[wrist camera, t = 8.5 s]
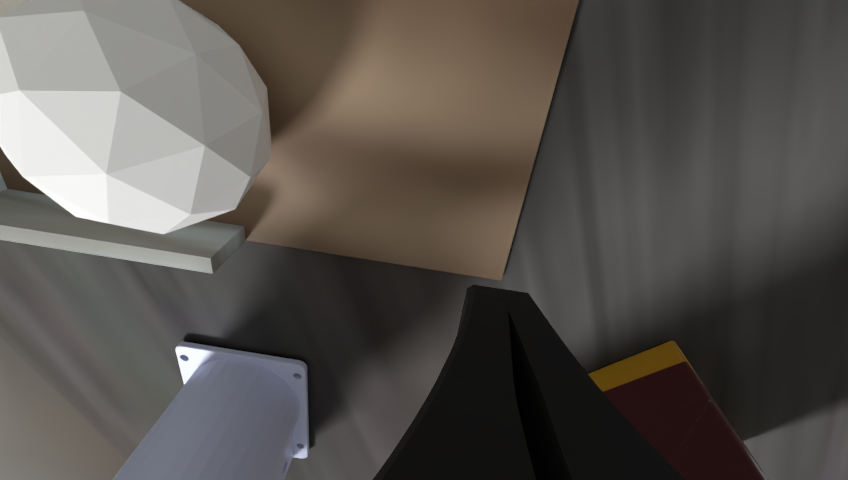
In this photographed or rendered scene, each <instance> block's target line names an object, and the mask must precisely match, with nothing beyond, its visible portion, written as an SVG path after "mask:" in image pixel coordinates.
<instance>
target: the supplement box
mask: <svg viewBox="0 0 848 480" xmlns="http://www.w3.org/2000/svg"><path fill="white" fill-rule="evenodd" d="M588 375H589V376H590V377H591V379H592V380H593V381H594V382H595V383H596V385H597V386H598V387H599V388H600V389H601V390H602V392H603V393H604V394H605V395H606V396H607V397H608V399H609V400H610V401H611V402H612V403H613V404H614V406H615V407H616V408H617V409H618V410H619V411H620V412H621V414H622V415H623V416H624V417H625V418H626V419H627V420H628V421H629V422H630V423H631V425H632V426H633V427H634V428H635V429H636V430H637V431H638V432H639V433H640V434H641V435H642V436H643V437H644V438H645V439H646V440H647V441H648V442H649V443H650V444H651V445H652V446H653V447H654V448H655V449H656V450H657V451H658V452H659V453H660V455H661V456H662V457H663V458H664V459H665V460H666V461H667V462H668V463H669V464H670V465H671V466H672V467H673V468H674V469H675V470H676V471H677V472H679V473H680V474H681V475H682V476H683V477H684V478H685V479H686V480H768V478H767V477H766V475H765V474H764V473H763V471H762V469H761V468H760V466H759V465H758V463H757V462H756V460H755V459H754V458H753V456H752V455H751V453H750V452H749V450H748V448H747V447H746V445H745V444H744V442H743V441H742V440H741V438H740V437H739V435H738V434H737V432H736V431H735V429H734V428H733V426H732V425H731V424H730V422H729V421H728V419H727V418H726V416H725V415H724V413H723V412H722V410H721V409H720V407H719V406H718V404H717V403H716V402H715V400H714V399H713V397H712V396H711V394H710V393H709V391H708V390H707V388H706V387H705V385H704V384H703V382H702V381H701V379H700V378H699V376H698V375H697V373H696V372H695V370H694V369H693V367H692V366H691V365H690V363H689V362H688V360H687V359H686V357H685V356H684V354H683V353H682V351H681V350H680V348H679V347H678V345H677V344H676V342H675V341H669V342H666V343H664V344H661V345H659V346H656V347H654V348H651V349H649V350H646V351H644V352H641V353H639V354H636V355H634V356H631V357H629V358H626V359H624V360H621V361H619V362H616V363H614V364H611V365H609V366H606V367H604V368H601V369H599V370H596V371H594V372H591V373H589V374H588Z"/></svg>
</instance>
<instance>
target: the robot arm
mask: <svg viewBox="0 0 848 480" xmlns="http://www.w3.org/2000/svg"><path fill="white" fill-rule="evenodd" d="M176 354H177V358H178V362H179V366H180V370H181V374H182V378H183V382H184V386H183V387H182V389H181V390H180V391H179V393H178V394H177V395H176V397H175V398H174V399H173V401H172V402H171V403H170V405H169V406H168V407H167V408H166V410H165V411H164V412H163V414H162V415H161V416H160V418H159V419H158V420H157V422H156V423H155V424H154V426H153V427H152V428H151V430H150V431H149V432H148V433H147V435H146V436H145V437H144V439H143V440H142V441H141V443H140V444H139V445H138V447H137V448H136V449H135V451H134V452H133V453H132V454H131V456H130V457H129V458H128V460H127V461H126V462H125V464H124V465H123V466H122V468H121V469H120V470H119V472H118V473H117V474H116V476H115V477H114V478H113V479H112V480H284V478H285V476H286V473H287V470H288V468H289V465H290V463H291V460H292V458H293V457H296V458H306V457H307V456H308V453H309V420H308V377H307V365H306V364H305V363H304V362H303V361H300V360H294V359H288V358H282V357H276V356H270V355H264V354H257V353H251V352H245V351H239V350H233V349H227V348H220V347H214V346H208V345H202V344H196V343H190V342H181V343H179V344H178V345H177V347H176ZM373 480H686V479H685V478H684V477H683V476H682V475H681V474H680V473H679V472H677V471H676V470H675V469H674V468H673V467H672V466H671V465H670V464H669V463H668V462H667V461H666V460H665V459H664V458H663V457H662V456H661V455H660V453H659V452H658V451H657V450H656V449H655V448H654V447H653V446H652V445H651V444H650V443H649V442H648V441H647V440H646V439H645V438H644V437H643V436H642V435H641V434H640V433H639V432H638V431H637V430H636V429H635V428H634V427H633V426H632V425H631V423H630V422H629V421H628V420H627V419H626V418H625V417H624V416H623V415H622V414H621V412H620V411H619V410H618V409H617V408H616V407H615V406H614V404H613V403H612V402H611V401H610V400H609V399H608V397H607V396H606V395H605V394H604V393H603V392H602V390H601V389H600V388H599V387H598V386H597V385H596V383H595V382H594V381H593V380H592V379H591V377H590V376H589V375H588V374H587V372H586V371H585V370H584V369H583V367H582V366H581V365H580V364H579V362H578V361H577V360H576V358H575V357H574V356H573V355H572V353H571V352H570V351H569V349H568V348H567V347H566V345H565V344H564V343H563V341H562V340H561V339H560V337H559V336H558V334H557V333H556V332H555V330H554V329H553V328H552V326H551V325H550V323H549V322H548V321H547V319H546V318H545V316H544V315H543V313H542V312H541V311H540V309H539V308H538V306H537V305H536V304H535V302H534V301H533V299H532V298H531V297H530V295H529V294H528V293H524V292H517V291H511V290H504V289H497V288H491V287H484V286H477V285H472V286H471V287H469V288H467V292H466V297H465V301H464V306H463V311H462V315H461V320H460V325H459V329H458V334H457V337H456V340H455V343H454V345H453V348H452V350H451V352H450V354H449V356H448V358H447V360H446V362H445V364H444V366H443V368H442V371H441V373H440V375H439V377H438V379H437V381H436V382H435V384H434V386H433V388H432V390H431V392H430V393H429V395H428V397H427V399H426V400H425V402H424V404H423V405H422V407H421V409H420V410H419V412H418V414H417V415H416V417H415V419H414V420H413V422H412V423H411V425H410V426H409V428H408V430H407V431H406V433H405V434H404V436H403V437H402V439H401V440H400V442H399V443H398V445H397V446H396V448H395V449H394V451H393V452H392V454H391V455H390V456H389V458H388V459H387V461H386V462H385V464H384V465H383V466H382V468H381V469H380V471H379V472H378V473H377V475H376V476H375V477H374V479H373Z"/></svg>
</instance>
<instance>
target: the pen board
mask: <svg viewBox="0 0 848 480" xmlns="http://www.w3.org/2000/svg"><path fill="white" fill-rule="evenodd" d="M27 1H29V0H0V15H2V14H4V13H6V12H8V11H10V10H12V9H14V8H16V7H18V6H19V5H21V4H23V3H25V2H27ZM179 1H181V2H182V3H184V4H185V5H187V6H189V7H190V8H192V9H193V10H195V11H197V12H198V13H200V14H201V15H203V16H204V17H206V18H208V19H209V20H211V21H212V22H214V23H216V24H217V25H219V26H220V27H221V28H222V29H223V30H224V31H225V32H226V33H227V34H228V35H229V36H230V37H231V38H232V39H233V40H234V41H236V42H237V43H238V44H239V45H240V47H241V49H242V50H243V52H244V53H245V55H246V56H247V58H248V59H249V61H250V62H251V64H252V65H253V67H254V69H255V70H256V72H257V73H258V75H259V76H260V78H261V79H262V81H263V82H264V84H265V86H266V87H267V95H268V108H269V120H270V133H271V146H272V156H271V158H270V159H269V161H268V162H267V163H266V165H265V166H264V168H263V169H262V171H261V172H260V174H259V175H258V177H257V178H256V180H255V181H254V183H253V184H252V185H251V187H250V188H249V190H248V191H247V193H246V194H245V196H244V197H243V199H242V200H241V202H240V203H239V204H238V206H237V207H236V209H235V210H232V211H229V212H226V213H223V214H220V215H218V216H215V217H212V218H209V219H206V220H203V221H200V222H198V223H195V224H192V225H189V226H186V227H183V228H181V229H178V230H175V231H172V232H169V233H166V234H159V233H154V232H149V231H144V230H138V229H133V228H128V227H123V226H118V225H113V224H108V223H103V222H98V221H93V220H89V219H84V218H79V217H75V216H74V215H72V214H71V213H70V212H69V211H67V210H66V209H65V208H63V207H62V206H61V205H59V204H58V203H57V202H55V201H54V200H53V199H51V198H50V197H49V196H47V195H46V194H45V193H43V192H42V191H41V190H39V189H38V188H37V187H35V186H34V185H33V184H31V183H30V182H29V181H27V180H26V179H25V178H24V177H22V175H21V174H20V173H19V172H18V170H17V169H16V168H15V167H14V165H13V164H12V163H11V161H10V160H9V159H8V158H7V156H6V155H5V154H4V152H3V150H2V149H1V147H0V240H6V241H12V242H18V243H24V244H31V245H37V246H43V247H50V248H56V249H62V250H68V251H75V252H81V253H87V254H93V255H100V256H106V257H112V258H118V259H125V260H131V261H137V262H143V263H150V264H156V265H162V266H169V267H175V268H181V269H187V270H194V271H200V272H206V273H212V274H213V273H214V272H215V271H216V270H217V269H218V268H219V267H220V266H221V265H222V264H223V263H224V262H225V261H226V260H227V259H228V258H229V257H230V256H231V255H232V254H233V253H234V252H235V250H236V249H237V248H238V247H239V246H240V245H241V244H242V243H243V242H244V241H245V240H247V241H254V242H260V243H266V244H273V245H279V246H285V247H292V248H298V249H304V250H311V251H317V252H323V253H330V254H336V255H342V256H348V257H355V258H361V259H367V260H374V261H380V262H386V263H393V264H399V265H405V266H412V267H418V268H424V269H431V270H437V271H443V272H450V273H456V274H462V275H469V276H475V277H481V278H487V279H494V280H500V281H501V280H502V277H503V273H504V269H505V266H506V262H507V259H508V255H509V251H510V248H511V244H512V240H513V237H514V233H515V230H516V226H517V222H518V219H519V215H520V212H521V208H522V204H523V201H524V197H525V194H526V190H527V186H528V183H529V179H530V175H531V172H532V168H533V165H534V161H535V157H536V154H537V150H538V147H539V143H540V139H541V136H542V132H543V129H544V125H545V121H546V118H547V114H548V110H549V107H550V103H551V100H552V96H553V92H554V89H555V85H556V82H557V78H558V74H559V71H560V67H561V64H562V60H563V56H564V53H565V49H566V45H567V42H568V38H569V35H570V31H571V27H572V24H573V20H574V17H575V13H576V9H577V6H578V2H579V0H179Z"/></svg>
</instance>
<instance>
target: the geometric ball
mask: <svg viewBox="0 0 848 480" xmlns="http://www.w3.org/2000/svg"><path fill="white" fill-rule="evenodd" d="M0 147H1V149H2V150H3V152H4V154H5V155H6V156H7V158H8V159H9V160H10V161H11V163H12V164H13V165H14V167H15V168H16V169H17V170H18V172H19V173H20V174H21V175H22V177H24V178H25V179H26V180H27V181H29V182H30V183H31V184H33V185H34V186H35V187H37V188H38V189H39V190H41V191H42V192H43V193H45V194H46V195H47V196H49V197H50V198H51V199H53V200H54V201H55V202H57V203H58V204H59V205H61V206H62V207H63V208H65V209H66V210H67V211H69V212H70V213H71V214H72V215H74V216H75V217H79V218H84V219H89V220H93V221H98V222H103V223H108V224H113V225H118V226H123V227H128V228H133V229H138V230H144V231H149V232H154V233H159V234H166V233H169V232H172V231H175V230H178V229H181V228H183V227H186V226H189V225H192V224H195V223H198V222H200V221H203V220H206V219H209V218H212V217H215V216H218V215H220V214H223V213H226V212H229V211H232V210H235V209H236V207H237V206H238V204H239V203H240V202H241V200H242V199H243V197H244V196H245V194H246V193H247V191H248V190H249V188H250V187H251V185H252V184H253V183H254V181H255V180H256V178H257V177H258V175H259V174H260V172H261V171H262V169H263V168H264V166H265V165H266V163H267V162H268V161H269V159H270V158H271V156H272V146H271V133H270V120H269V108H268V95H267V87H266V86H265V84H264V82H263V81H262V79H261V78H260V76H259V75H258V73H257V72H256V70H255V69H254V67H253V65H252V64H251V62H250V61H249V59H248V58H247V56H246V55H245V53H244V52H243V50H242V49H241V47H240V45H239V44H238V43H237V42H236V41H234V40H233V39H232V38H231V37H230V36H229V35H228V34H227V33H226V32H225V31H224V30H223V29H222V28H221V27H220V26H219V25H217V24H216V23H214V22H212V21H211V20H209V19H208V18H206V17H204V16H203V15H201V14H200V13H198V12H197V11H195V10H193V9H192V8H190V7H189V6H187V5H185V4H184V3H182V2H181V1H179V0H29V1H27V2H25V3H23V4H21V5H19V6H18V7H16V8H14V9H12V10H10V11H8V12H6V13H4V14H2V15H0Z"/></svg>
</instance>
